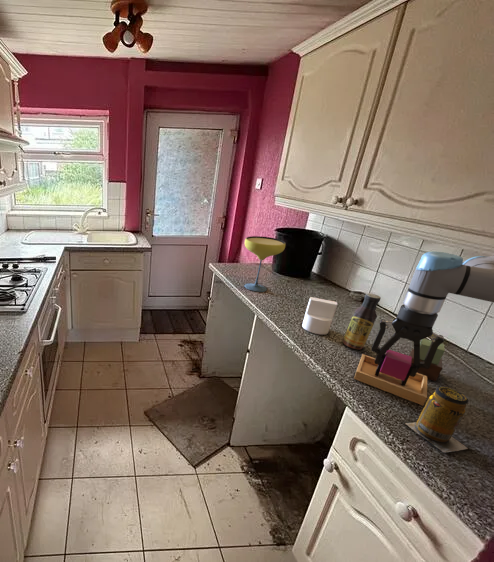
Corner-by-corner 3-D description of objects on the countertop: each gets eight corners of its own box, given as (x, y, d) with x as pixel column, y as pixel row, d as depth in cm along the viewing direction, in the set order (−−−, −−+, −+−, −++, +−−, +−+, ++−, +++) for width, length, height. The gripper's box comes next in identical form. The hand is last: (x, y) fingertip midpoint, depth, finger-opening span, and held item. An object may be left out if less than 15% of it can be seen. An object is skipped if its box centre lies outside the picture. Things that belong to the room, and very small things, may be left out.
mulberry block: (405, 372, 92) (411, 356, 90) (404, 381, 88) (411, 364, 86) (381, 364, 95) (387, 349, 93) (379, 372, 92) (386, 356, 90)
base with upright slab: (327, 326, 124) (335, 299, 119) (329, 336, 116) (338, 308, 112) (301, 320, 127) (309, 294, 123) (302, 330, 120) (310, 302, 116)
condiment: (427, 420, 79) (447, 382, 75) (468, 449, 71) (492, 408, 67) (404, 424, 78) (423, 385, 73) (443, 453, 70) (466, 412, 65)
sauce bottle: (339, 344, 111) (357, 294, 104) (345, 338, 115) (362, 289, 108) (361, 353, 107) (381, 300, 99) (366, 346, 111) (385, 295, 103)
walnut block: (435, 371, 98) (441, 358, 97) (435, 381, 94) (442, 367, 92) (406, 361, 103) (412, 348, 101) (405, 371, 98) (411, 357, 96)
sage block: (437, 358, 97) (444, 344, 95) (437, 364, 93) (444, 350, 91) (416, 351, 100) (422, 337, 98) (415, 357, 96) (422, 344, 94)
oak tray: (423, 383, 92) (427, 376, 91) (423, 405, 84) (427, 397, 83) (359, 361, 102) (362, 353, 101) (353, 378, 94) (356, 371, 93)
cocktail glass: (251, 279, 171) (260, 234, 162) (282, 290, 157) (293, 242, 148) (229, 285, 162) (237, 238, 153) (260, 297, 148) (270, 246, 139)
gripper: (467, 315, 81) (431, 387, 89) (378, 294, 93) (354, 359, 101) (470, 325, 76) (432, 400, 84) (375, 302, 87) (350, 370, 96)
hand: (389, 378), depth 93 cm, fingers closed on mulberry block, 5 cm apart
